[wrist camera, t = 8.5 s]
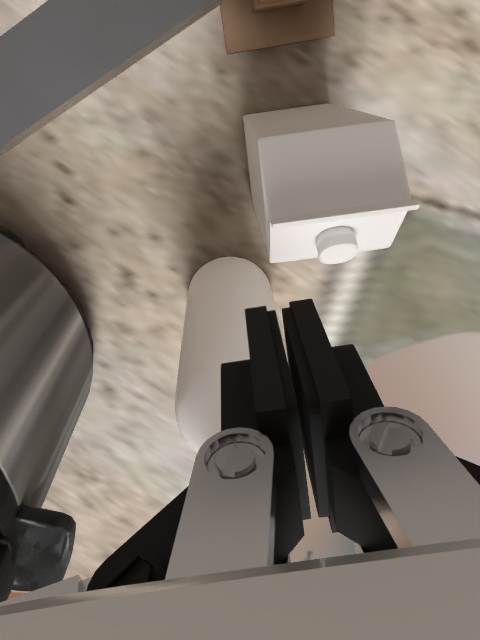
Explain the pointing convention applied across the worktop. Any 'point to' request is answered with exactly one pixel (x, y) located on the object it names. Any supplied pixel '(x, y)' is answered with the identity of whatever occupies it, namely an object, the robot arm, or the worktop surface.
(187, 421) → the bottle
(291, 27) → the gate post
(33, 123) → the arm
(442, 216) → the worktop surface
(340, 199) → the milk carton
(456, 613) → the robot arm
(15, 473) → the pressure cooker
